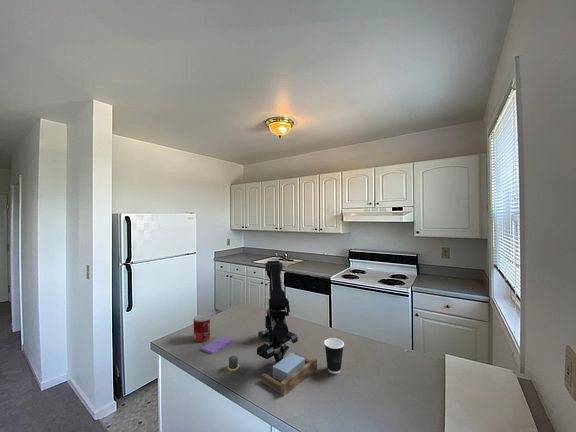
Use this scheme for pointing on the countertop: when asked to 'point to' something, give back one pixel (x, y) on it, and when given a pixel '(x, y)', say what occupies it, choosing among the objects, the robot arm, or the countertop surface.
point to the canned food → (201, 328)
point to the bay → (291, 377)
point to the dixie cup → (334, 354)
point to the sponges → (216, 345)
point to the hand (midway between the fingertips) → (278, 365)
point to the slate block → (287, 366)
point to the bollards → (234, 362)
